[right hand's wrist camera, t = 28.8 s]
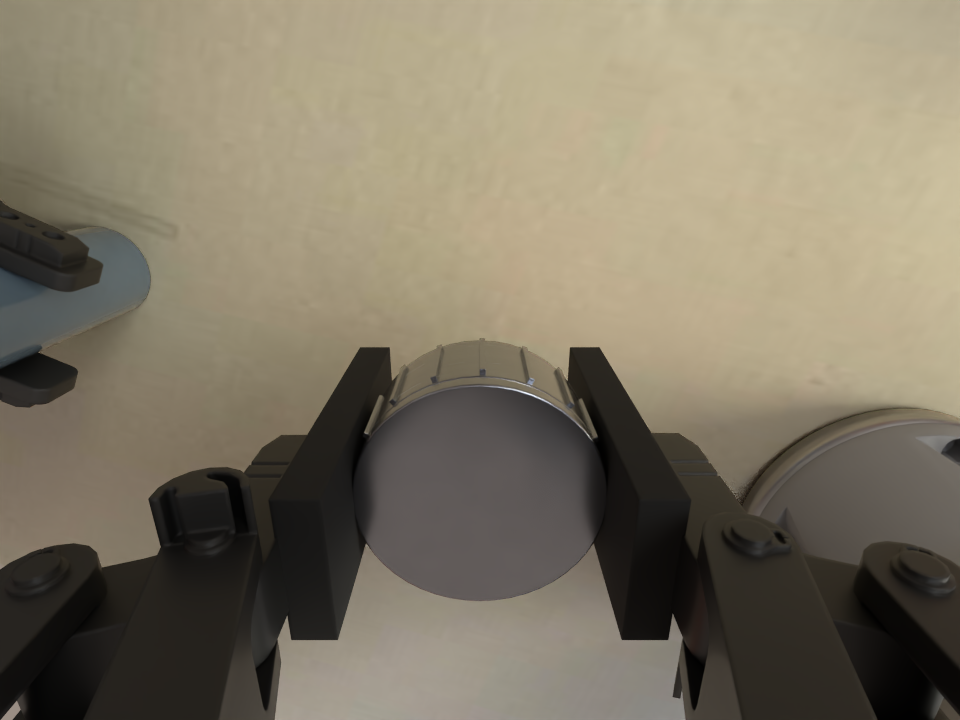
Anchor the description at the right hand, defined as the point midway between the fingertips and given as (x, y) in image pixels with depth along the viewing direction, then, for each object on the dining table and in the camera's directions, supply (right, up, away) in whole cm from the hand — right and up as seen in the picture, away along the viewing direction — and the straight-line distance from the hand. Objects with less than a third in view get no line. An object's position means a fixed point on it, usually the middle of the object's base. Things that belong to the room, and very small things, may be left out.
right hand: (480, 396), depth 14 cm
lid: (0, -2, -4) cm, 4 cm away
